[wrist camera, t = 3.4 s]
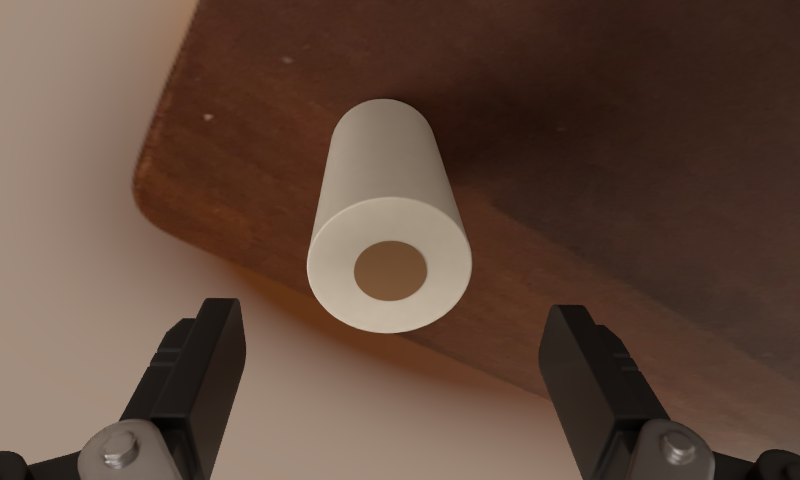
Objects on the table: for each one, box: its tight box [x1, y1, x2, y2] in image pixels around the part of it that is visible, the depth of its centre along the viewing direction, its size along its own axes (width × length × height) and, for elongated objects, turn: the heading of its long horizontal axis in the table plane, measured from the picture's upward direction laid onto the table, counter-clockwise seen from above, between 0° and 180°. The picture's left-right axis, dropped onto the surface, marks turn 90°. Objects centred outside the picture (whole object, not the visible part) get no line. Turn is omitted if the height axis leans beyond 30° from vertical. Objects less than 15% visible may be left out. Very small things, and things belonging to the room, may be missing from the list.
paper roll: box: [307, 99, 472, 333], centre depth 19 cm, size 5×5×10 cm
